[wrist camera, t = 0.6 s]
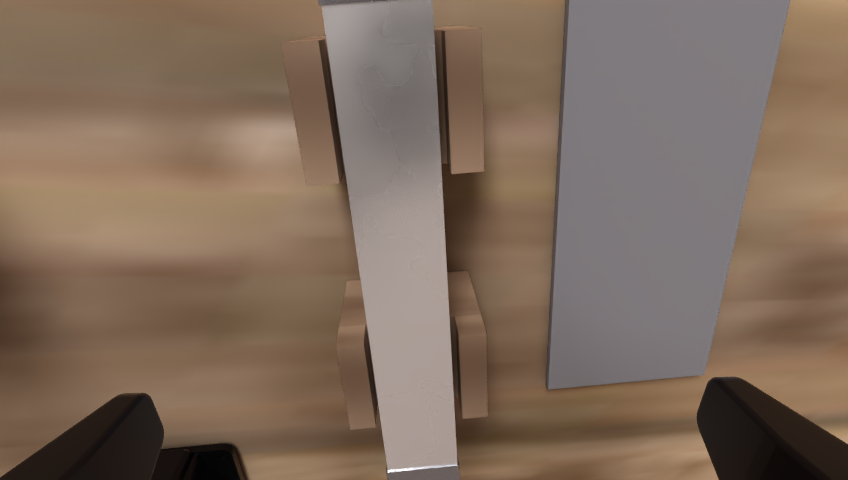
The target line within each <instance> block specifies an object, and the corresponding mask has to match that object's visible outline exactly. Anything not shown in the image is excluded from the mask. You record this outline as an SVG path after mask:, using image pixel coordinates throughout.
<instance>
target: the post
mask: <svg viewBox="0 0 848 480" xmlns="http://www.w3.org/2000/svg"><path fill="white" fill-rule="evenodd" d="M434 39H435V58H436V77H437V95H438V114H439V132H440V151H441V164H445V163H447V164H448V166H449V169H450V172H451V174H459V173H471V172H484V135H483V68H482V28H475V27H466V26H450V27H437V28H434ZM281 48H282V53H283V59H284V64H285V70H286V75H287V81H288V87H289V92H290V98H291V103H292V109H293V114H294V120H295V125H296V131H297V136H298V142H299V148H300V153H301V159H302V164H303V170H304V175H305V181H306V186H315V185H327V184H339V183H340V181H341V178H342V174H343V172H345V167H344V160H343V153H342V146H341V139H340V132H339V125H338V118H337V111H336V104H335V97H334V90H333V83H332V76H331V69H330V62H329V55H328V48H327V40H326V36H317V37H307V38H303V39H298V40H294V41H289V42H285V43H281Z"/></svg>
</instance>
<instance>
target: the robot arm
mask: <svg viewBox="0 0 848 480" xmlns="http://www.w3.org/2000/svg"><path fill="white" fill-rule="evenodd" d="M697 424H698V428H699V431H700V433H701V436H702V438H703V441H704V443H705V446H706V448H707V451H708V453H709V456H710V458H711V461H712V463H713V466H714V468H715V471H716V474H717V476H718V479H719V480H848V444H847V443H845V442H843V441H842V440H840V439H839V438H837V437H835V436H834V435H832V434H830V433H829V432H827V431H826V430H824V429H822V428H821V427H819V426H818V425H816V424H814V423H813V422H811V421H810V420H808V419H806V418H805V417H803V416H801V415H800V414H798V413H797V412H795V411H793V410H792V409H790V408H789V407H787V406H785V405H784V404H782V403H780V402H779V401H777V400H776V399H774V398H772V397H771V396H769V395H768V394H766V393H764V392H763V391H761V390H760V389H758V388H756V387H755V386H753V385H751V384H750V383H748V382H747V381H745V380H743V379H741V378H738V377H715V378H712V379H711V380H710V381H708V383H707V386H706V389H705V392H704V394H703V397H702V400H701V403H700V406H699V408H698V412H697ZM163 438H164V429H163V425H162V423H161V420H160V418H159V416H158V413H157V411H156V408H155V406H154V403H153V401H152V399H151V397H150V396H149V395H148V394H146V393H124V394H120V395H118V396H116V397H114V398H113V399H111V400H110V401H108V402H107V403H106V404H104V405H103V406H101V407H100V408H98V409H97V410H96V411H94V412H93V413H91V414H90V415H89V416H87V417H86V418H84V419H83V420H81V421H80V422H79V423H77V424H76V425H74V426H73V427H71V428H70V429H69V430H67V431H66V432H64V433H63V434H62V435H60V436H59V437H57V438H56V439H54V440H53V441H52V442H50V443H49V444H47V445H46V446H44V447H43V448H42V449H40V450H39V451H37V452H36V453H34V454H33V455H32V456H30V457H29V458H27V459H26V460H25V461H23V462H22V463H20V464H19V465H17V466H16V467H15V468H13V469H12V470H10V471H9V472H7V473H6V474H5V475H3V476H2V477H0V480H245V479H244V476H243V473H242V470H241V467H240V464H239V461H238V457H237V454H236V451H235V449H234V447H233V446H231V445H229V444H213V445H203V446H192V447H182V448H171V449H161V446H162V443H163ZM160 449H161V450H160Z"/></svg>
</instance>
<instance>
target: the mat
mask: <svg viewBox="0 0 848 480" xmlns="http://www.w3.org/2000/svg"><path fill="white" fill-rule="evenodd" d="M789 4H790V0H566V3H565V23H564V42H563V61H562V81H561V100H560V119H559V139H558V158H557V177H556V196H555V216H554V235H553V254H552V274H551V293H550V312H549V332H548V351H547V370H546V386H547V388H548V390H549V389H559V388H570V387H581V386H591V385H602V384H612V383H623V382H634V381H644V380H655V379H665V378H676V377H687V376H697V375H704V374H705V369H706V365H707V360H708V356H709V352H710V347H711V343H712V339H713V334H714V330H715V326H716V321H717V317H718V313H719V308H720V304H721V300H722V295H723V291H724V287H725V282H726V278H727V274H728V269H729V265H730V260H731V256H732V252H733V247H734V243H735V239H736V234H737V230H738V226H739V221H740V217H741V213H742V208H743V204H744V200H745V195H746V191H747V187H748V182H749V178H750V174H751V169H752V165H753V160H754V156H755V152H756V147H757V143H758V139H759V134H760V130H761V126H762V121H763V117H764V113H765V108H766V104H767V100H768V95H769V91H770V87H771V82H772V78H773V74H774V69H775V65H776V61H777V56H778V52H779V47H780V43H781V39H782V34H783V30H784V26H785V21H786V17H787V13H788V8H789Z"/></svg>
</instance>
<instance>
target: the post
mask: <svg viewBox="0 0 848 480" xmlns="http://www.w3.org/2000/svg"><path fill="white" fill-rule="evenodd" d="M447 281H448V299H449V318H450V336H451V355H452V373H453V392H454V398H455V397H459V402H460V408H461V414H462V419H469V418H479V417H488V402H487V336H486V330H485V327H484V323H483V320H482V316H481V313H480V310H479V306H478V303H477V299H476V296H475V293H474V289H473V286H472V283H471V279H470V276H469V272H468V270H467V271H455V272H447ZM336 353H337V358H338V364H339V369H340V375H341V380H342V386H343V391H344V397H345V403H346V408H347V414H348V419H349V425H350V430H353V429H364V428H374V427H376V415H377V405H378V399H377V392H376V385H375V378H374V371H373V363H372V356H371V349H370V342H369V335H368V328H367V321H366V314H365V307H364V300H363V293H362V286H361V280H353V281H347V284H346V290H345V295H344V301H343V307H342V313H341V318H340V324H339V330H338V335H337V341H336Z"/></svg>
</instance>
